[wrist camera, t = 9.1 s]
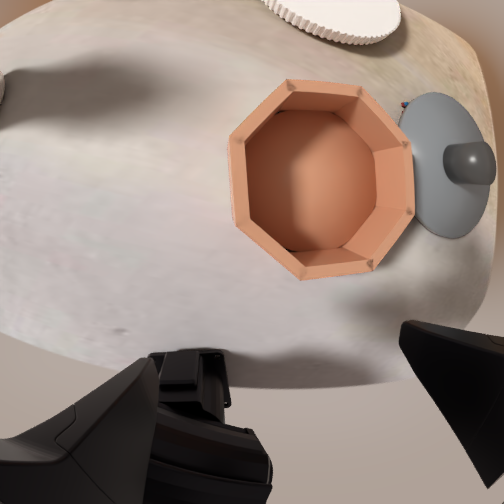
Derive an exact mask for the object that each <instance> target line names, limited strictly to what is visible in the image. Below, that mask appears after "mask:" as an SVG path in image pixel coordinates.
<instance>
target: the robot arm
mask: <svg viewBox="0 0 504 504" xmlns="http://www.w3.org/2000/svg"><path fill="white" fill-rule="evenodd" d="M399 346H400V348H401V350H402V352H403V353H404V355H405V357H406V359H407V360H408V362H409V364H410V366H411V368H412V369H413V371H414V373H415V375H416V376H417V378H418V379H419V380H420V382H421V383H422V385H423V386H424V388H425V389H426V390H427V392H428V393H429V395H430V396H431V398H432V399H433V401H434V402H435V404H436V405H437V407H438V408H439V410H440V411H441V413H442V414H443V416H444V417H445V419H446V420H447V422H448V423H449V425H450V426H451V428H452V430H453V431H454V433H455V434H456V436H457V438H458V439H459V441H460V443H461V444H462V446H463V447H464V449H465V450H466V453H467V454H468V456H469V458H470V459H471V461H472V463H473V465H474V467H475V468H476V470H477V472H478V474H479V475H480V477H481V479H482V481H483V483H484V484H485V486H486V487H487V489H489V488H490V487H491V486H492V485H493V484H494V483H495V482H496V481H497V480H499V479H500V478H501V477H502V476H503V475H504V337H499V336H493V335H486V334H482V333H476V332H470V331H465V330H460V329H455V328H450V327H445V326H440V325H435V324H430V323H426V322H421V321H416V320H408V321H405V322H403V323H402V325H401V330H400V336H399ZM215 355H220V357H215ZM152 358H154V359H155V360H153V359H152ZM225 402H226V403H225ZM230 406H231V398H230V392H229V386H228V379H227V373H226V367H225V360H224V354H223V352H222V351H220V350H208V351H196V350H193V351H174V352H167V353H151V354H149V355H148V358H140V359H138V360H137V361H135V362H134V363H133V364H131V365H130V366H128V367H127V368H125V369H124V370H123V371H121V372H120V373H118V374H117V375H115V376H114V377H112V378H111V379H109V380H108V381H107V382H105V383H104V384H102V385H101V386H99V387H98V388H96V389H95V390H94V391H92V392H90V393H89V394H88V395H86V396H84V397H83V398H82V399H80V400H79V401H77V402H76V403H74V405H73V404H72V405H71V406H69V407H68V408H67V409H65V410H63V411H62V412H60V413H59V414H57V415H55V416H54V417H52V418H50V419H48V420H46V421H45V422H43V423H41V424H39V425H37V426H36V427H33V428H31V429H29V430H27V431H25V432H24V433H21V434H19V435H17V436H15V437H12V438H8V439H0V504H266V501H267V499H268V496H269V494H270V492H271V490H272V484H271V482H272V476H273V467H272V462H271V460H270V458H269V456H268V454H267V453H266V451H265V450H264V448H263V446H262V445H261V443H260V441H259V440H258V438H257V437H256V435H255V434H254V431H253V430H252V429H249V428H244V429H243V428H239V427H235V426H231V425H227V424H225V416H224V408H229V407H230ZM502 504H504V502H503V503H502Z"/></svg>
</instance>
